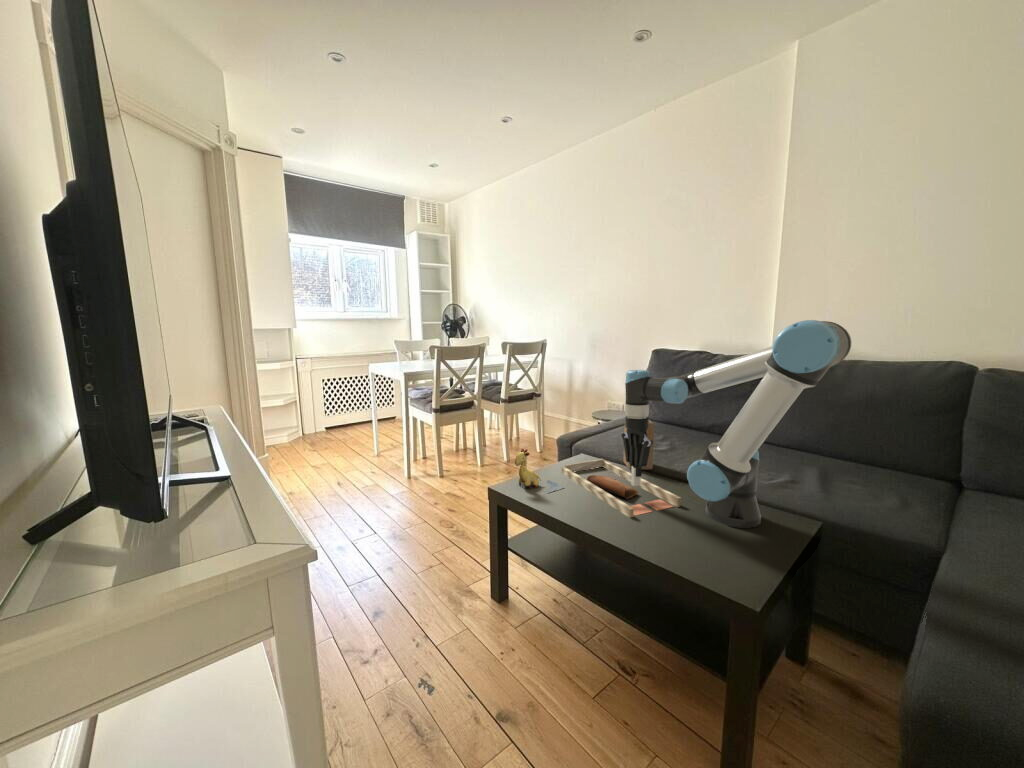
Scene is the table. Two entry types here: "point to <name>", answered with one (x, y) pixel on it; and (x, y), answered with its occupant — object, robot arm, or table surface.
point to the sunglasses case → (612, 486)
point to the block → (650, 459)
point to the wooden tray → (612, 500)
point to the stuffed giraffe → (530, 474)
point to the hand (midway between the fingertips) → (635, 484)
